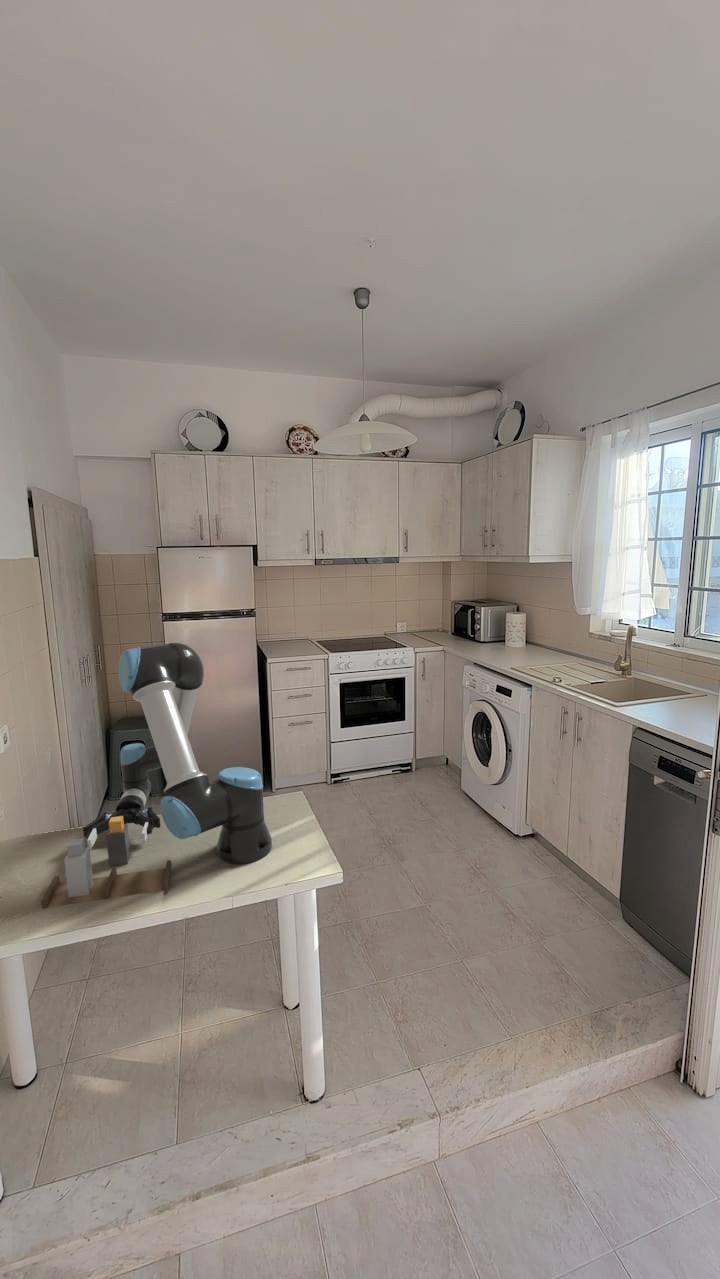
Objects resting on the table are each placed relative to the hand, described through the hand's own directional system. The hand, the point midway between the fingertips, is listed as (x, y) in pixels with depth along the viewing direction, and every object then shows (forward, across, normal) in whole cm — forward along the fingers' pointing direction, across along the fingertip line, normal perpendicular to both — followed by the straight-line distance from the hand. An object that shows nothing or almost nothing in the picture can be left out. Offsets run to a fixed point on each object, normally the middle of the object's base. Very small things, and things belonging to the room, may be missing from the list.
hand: (116, 841), depth 147 cm
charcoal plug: (-1, 0, -7) cm, 7 cm away
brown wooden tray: (+11, 0, -7) cm, 13 cm away
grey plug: (+11, +6, -6) cm, 14 cm away
